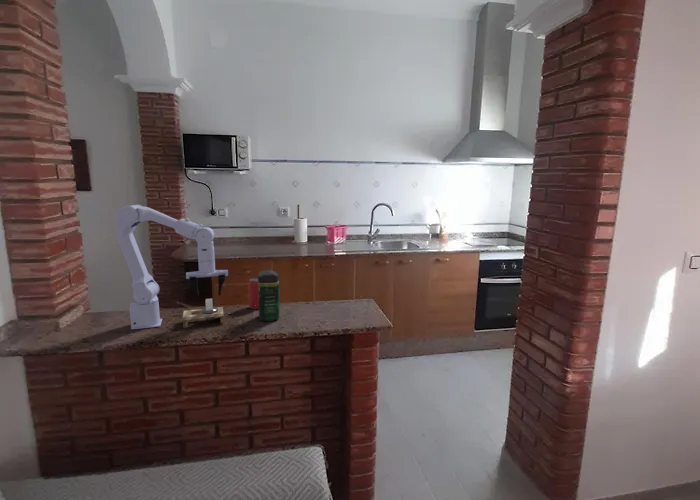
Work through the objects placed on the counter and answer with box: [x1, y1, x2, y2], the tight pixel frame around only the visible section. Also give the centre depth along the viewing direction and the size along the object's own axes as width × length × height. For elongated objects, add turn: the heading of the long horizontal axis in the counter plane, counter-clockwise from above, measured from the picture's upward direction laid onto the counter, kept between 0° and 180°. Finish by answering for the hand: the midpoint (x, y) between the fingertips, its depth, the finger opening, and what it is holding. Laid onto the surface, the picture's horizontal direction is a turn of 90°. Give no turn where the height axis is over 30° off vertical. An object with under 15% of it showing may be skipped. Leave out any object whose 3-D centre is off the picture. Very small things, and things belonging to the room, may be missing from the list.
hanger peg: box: [200, 298, 218, 321], centre depth 147 cm, size 6×6×7 cm
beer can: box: [247, 277, 259, 310], centre depth 164 cm, size 7×7×12 cm
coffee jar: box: [257, 269, 280, 322], centre depth 151 cm, size 10×8×19 cm
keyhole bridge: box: [182, 306, 225, 329], centre depth 147 cm, size 14×8×4 cm, turn 110°
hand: (208, 295), depth 146 cm, fingers open, 7 cm apart
